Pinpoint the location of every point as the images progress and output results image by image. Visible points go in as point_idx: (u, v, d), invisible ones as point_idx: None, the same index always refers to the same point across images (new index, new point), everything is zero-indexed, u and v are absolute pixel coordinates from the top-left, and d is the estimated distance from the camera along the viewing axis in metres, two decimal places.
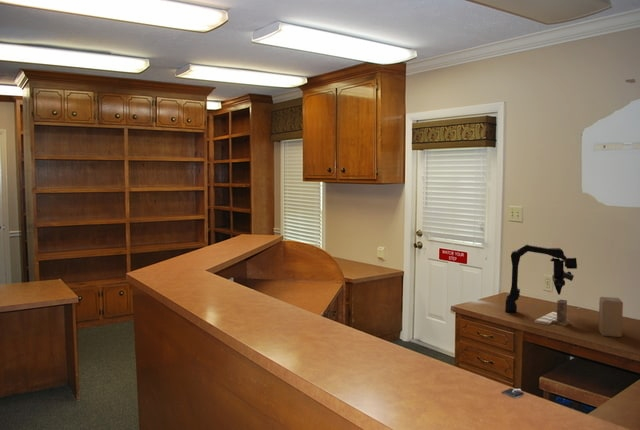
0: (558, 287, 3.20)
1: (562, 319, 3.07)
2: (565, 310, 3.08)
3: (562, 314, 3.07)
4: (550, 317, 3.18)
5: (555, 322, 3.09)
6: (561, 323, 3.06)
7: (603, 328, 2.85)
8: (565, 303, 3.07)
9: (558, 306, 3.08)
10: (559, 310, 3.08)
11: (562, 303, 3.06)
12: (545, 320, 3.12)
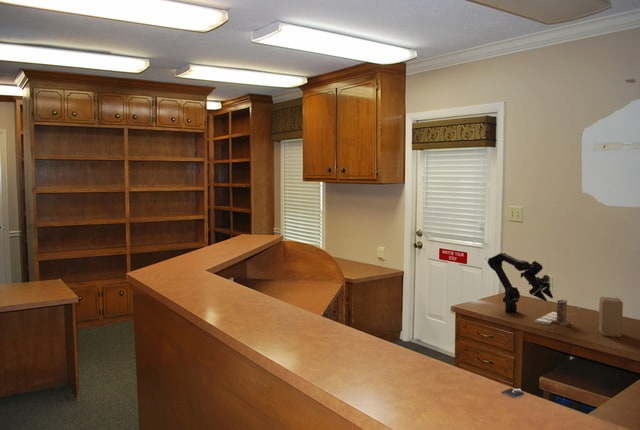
0: (539, 295, 3.12)
1: (562, 319, 3.07)
2: (565, 310, 3.08)
3: (562, 314, 3.07)
4: (550, 317, 3.18)
5: (555, 322, 3.09)
6: (561, 323, 3.06)
7: (603, 328, 2.85)
8: (565, 303, 3.07)
9: (558, 306, 3.08)
10: (559, 310, 3.08)
11: (562, 303, 3.06)
12: (545, 320, 3.12)
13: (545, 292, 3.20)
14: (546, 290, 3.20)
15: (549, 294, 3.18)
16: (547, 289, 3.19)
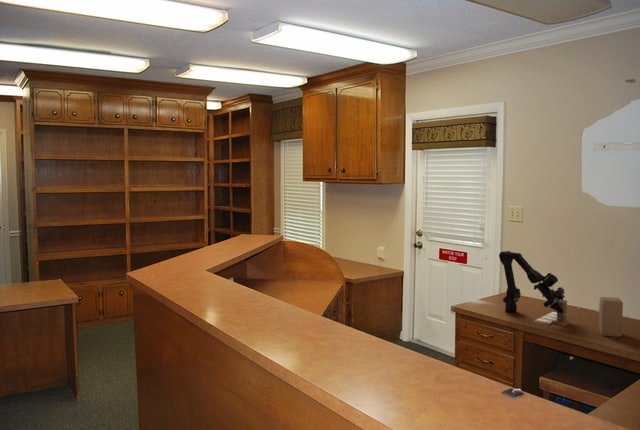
0: (555, 307, 3.08)
1: (562, 319, 3.07)
2: (565, 310, 3.08)
3: (562, 314, 3.07)
4: (550, 317, 3.18)
5: (555, 322, 3.09)
6: (561, 323, 3.06)
7: (603, 328, 2.85)
8: (565, 303, 3.07)
9: None
10: None
11: (562, 303, 3.06)
12: (545, 320, 3.12)
13: None
14: None
15: None
16: None
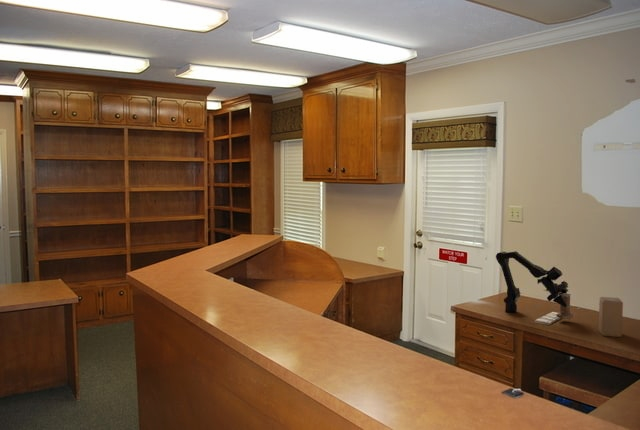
0: (559, 301, 3.11)
1: (565, 312, 3.10)
2: (568, 304, 3.11)
3: (565, 308, 3.10)
4: (550, 317, 3.18)
5: (558, 315, 3.12)
6: (564, 316, 3.09)
7: (603, 328, 2.85)
8: (568, 297, 3.10)
9: None
10: None
11: (565, 297, 3.10)
12: (545, 320, 3.12)
13: None
14: None
15: None
16: None
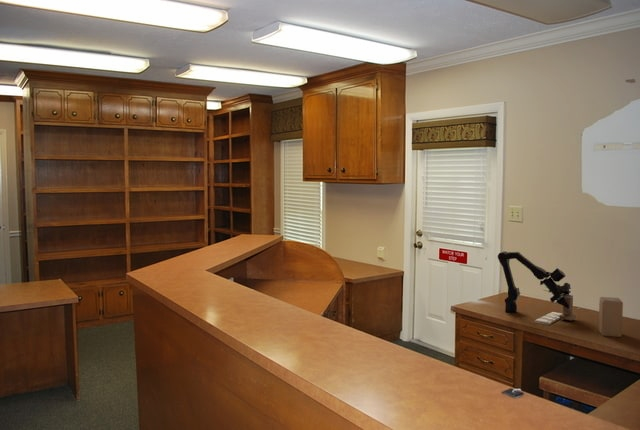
0: (562, 302, 3.15)
1: (568, 314, 3.14)
2: (571, 305, 3.14)
3: (568, 309, 3.13)
4: (550, 317, 3.18)
5: (561, 317, 3.15)
6: (567, 318, 3.13)
7: (603, 328, 2.85)
8: (571, 298, 3.14)
9: None
10: None
11: (568, 298, 3.13)
12: (545, 320, 3.12)
13: None
14: None
15: None
16: None
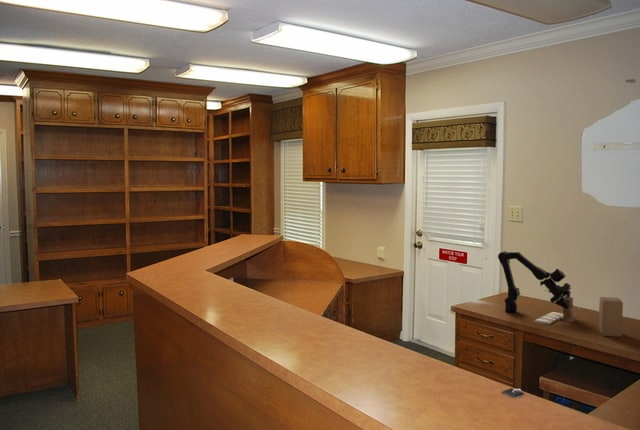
0: (561, 303, 3.13)
1: (568, 316, 3.14)
2: (571, 307, 3.14)
3: (568, 311, 3.13)
4: (550, 317, 3.18)
5: (561, 319, 3.15)
6: (567, 320, 3.13)
7: (603, 328, 2.85)
8: (571, 300, 3.14)
9: None
10: None
11: (568, 300, 3.13)
12: (545, 320, 3.12)
13: None
14: None
15: None
16: None
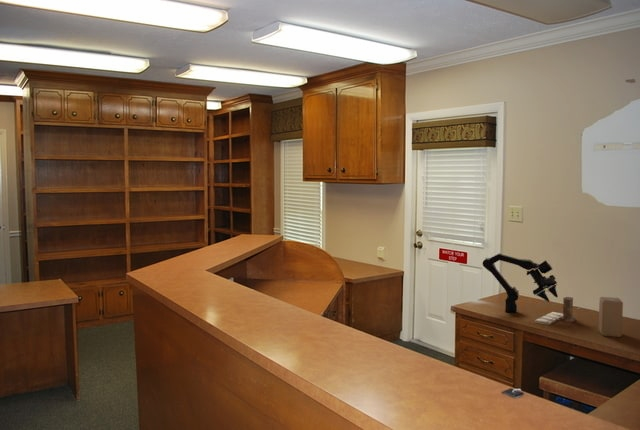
0: (542, 295, 3.21)
1: (568, 316, 3.14)
2: (571, 307, 3.14)
3: (568, 311, 3.13)
4: (550, 317, 3.18)
5: (561, 319, 3.15)
6: (567, 320, 3.13)
7: (603, 328, 2.85)
8: (571, 300, 3.14)
9: (564, 303, 3.15)
10: (565, 306, 3.15)
11: (568, 300, 3.13)
12: (545, 320, 3.12)
13: (551, 290, 3.28)
14: (552, 289, 3.27)
15: (554, 293, 3.26)
16: (553, 288, 3.26)
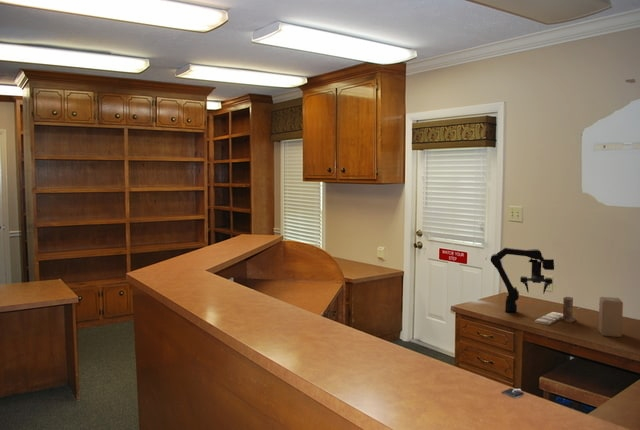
0: None
1: (568, 316, 3.14)
2: (571, 307, 3.14)
3: (568, 311, 3.13)
4: (550, 317, 3.18)
5: (561, 319, 3.15)
6: (567, 320, 3.13)
7: (603, 328, 2.85)
8: (571, 300, 3.14)
9: (564, 303, 3.15)
10: (565, 306, 3.15)
11: (568, 300, 3.13)
12: (545, 320, 3.12)
13: (544, 285, 3.30)
14: (544, 285, 3.29)
15: None
16: (544, 285, 3.28)
